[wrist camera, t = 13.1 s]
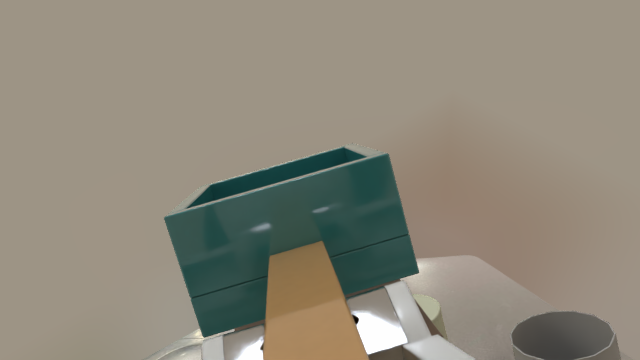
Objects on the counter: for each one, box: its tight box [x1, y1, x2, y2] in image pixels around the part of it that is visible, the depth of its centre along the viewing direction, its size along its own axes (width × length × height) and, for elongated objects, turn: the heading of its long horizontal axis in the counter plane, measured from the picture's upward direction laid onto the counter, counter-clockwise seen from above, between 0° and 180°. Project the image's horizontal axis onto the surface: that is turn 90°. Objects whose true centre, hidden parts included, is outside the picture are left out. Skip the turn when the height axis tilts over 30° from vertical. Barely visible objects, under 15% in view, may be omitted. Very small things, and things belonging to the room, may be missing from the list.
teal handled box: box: [164, 143, 419, 360], centre depth 15 cm, size 8×20×4 cm, turn 5°
